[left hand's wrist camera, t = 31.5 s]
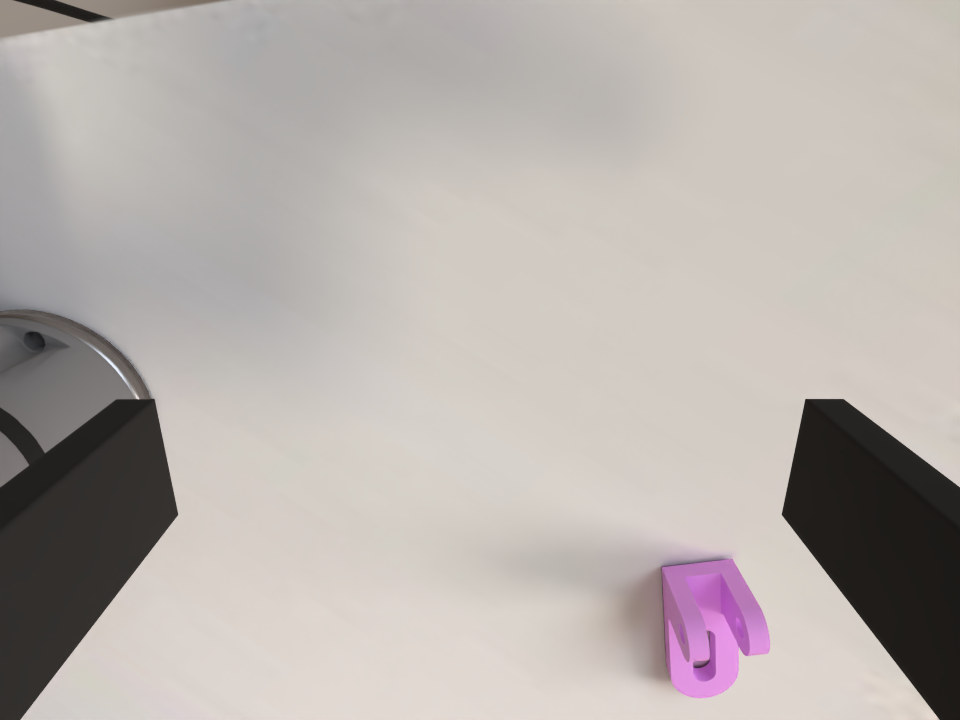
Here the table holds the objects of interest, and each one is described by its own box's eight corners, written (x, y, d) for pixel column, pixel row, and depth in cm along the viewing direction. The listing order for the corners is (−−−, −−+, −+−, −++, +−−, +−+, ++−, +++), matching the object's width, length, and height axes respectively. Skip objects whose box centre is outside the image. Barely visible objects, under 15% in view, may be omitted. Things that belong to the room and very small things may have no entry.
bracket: (661, 567, 50) (689, 634, 43) (732, 559, 49) (770, 625, 43) (667, 687, 54) (693, 764, 48) (732, 680, 54) (766, 756, 47)
